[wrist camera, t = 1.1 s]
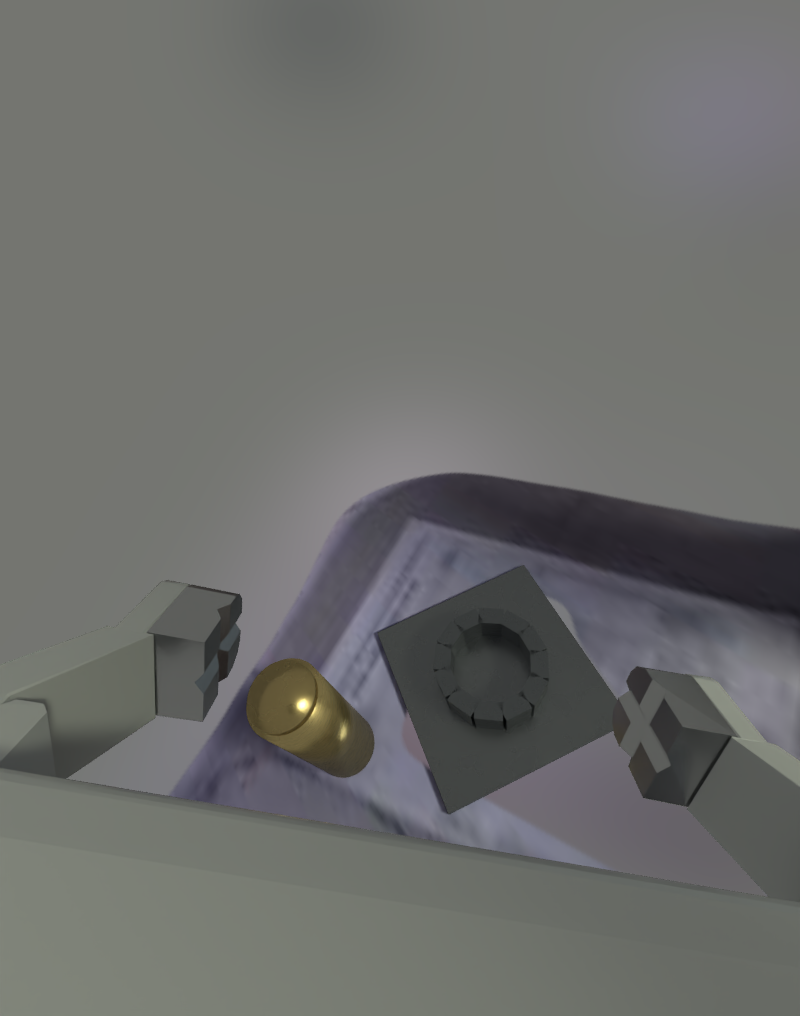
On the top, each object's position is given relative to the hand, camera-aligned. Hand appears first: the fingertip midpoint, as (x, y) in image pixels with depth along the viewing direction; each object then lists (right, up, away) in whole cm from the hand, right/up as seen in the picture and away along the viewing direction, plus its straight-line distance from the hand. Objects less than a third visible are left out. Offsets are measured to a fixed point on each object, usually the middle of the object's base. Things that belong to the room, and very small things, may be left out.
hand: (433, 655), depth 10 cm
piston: (-5, -17, +31) cm, 36 cm away
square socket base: (+7, -12, +32) cm, 35 cm away
